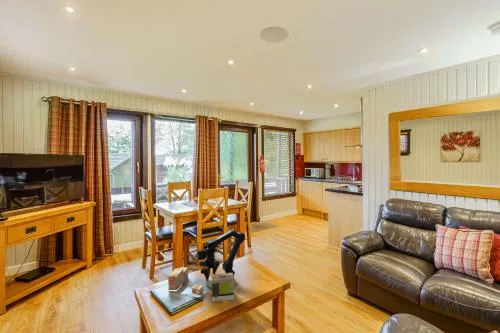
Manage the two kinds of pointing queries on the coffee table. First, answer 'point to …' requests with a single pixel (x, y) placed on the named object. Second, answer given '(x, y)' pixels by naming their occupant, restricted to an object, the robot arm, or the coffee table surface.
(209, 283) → the sage cube
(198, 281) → the grey flat sheet
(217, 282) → the tea box
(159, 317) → the coffee table surface
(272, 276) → the coffee table surface
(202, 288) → the maple block
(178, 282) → the printed cardboard box
